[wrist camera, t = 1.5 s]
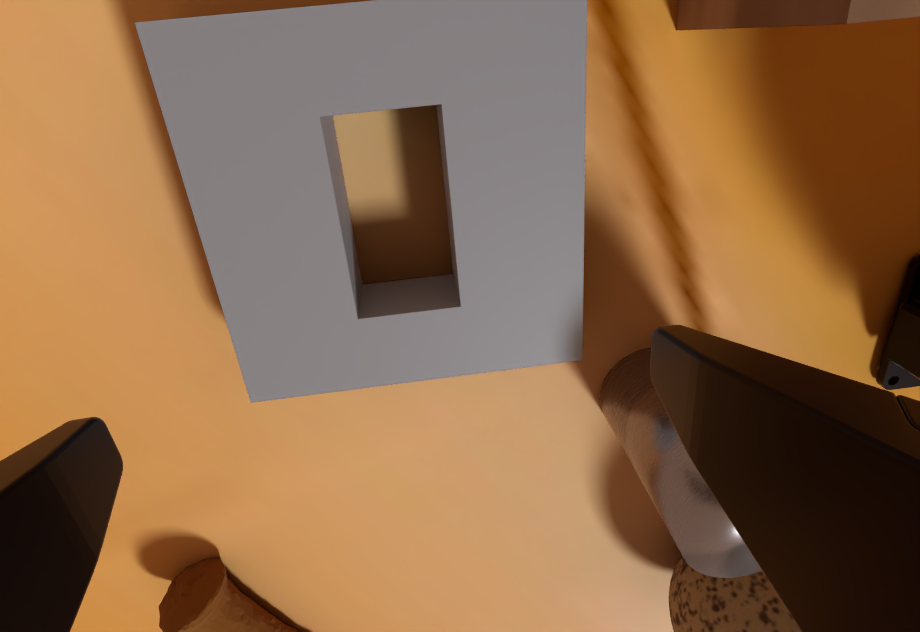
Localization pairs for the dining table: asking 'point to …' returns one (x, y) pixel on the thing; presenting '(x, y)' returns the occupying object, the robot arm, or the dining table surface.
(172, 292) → the dining table surface
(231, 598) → the primitive tool
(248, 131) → the slotted block
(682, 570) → the decorative egg
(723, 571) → the round metal peg
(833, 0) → the walnut bar
